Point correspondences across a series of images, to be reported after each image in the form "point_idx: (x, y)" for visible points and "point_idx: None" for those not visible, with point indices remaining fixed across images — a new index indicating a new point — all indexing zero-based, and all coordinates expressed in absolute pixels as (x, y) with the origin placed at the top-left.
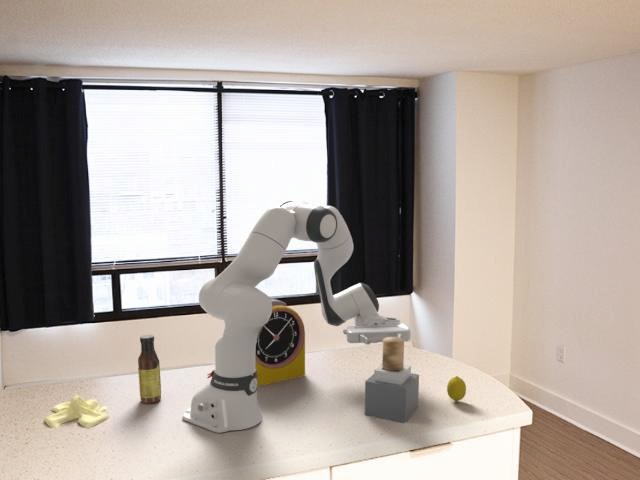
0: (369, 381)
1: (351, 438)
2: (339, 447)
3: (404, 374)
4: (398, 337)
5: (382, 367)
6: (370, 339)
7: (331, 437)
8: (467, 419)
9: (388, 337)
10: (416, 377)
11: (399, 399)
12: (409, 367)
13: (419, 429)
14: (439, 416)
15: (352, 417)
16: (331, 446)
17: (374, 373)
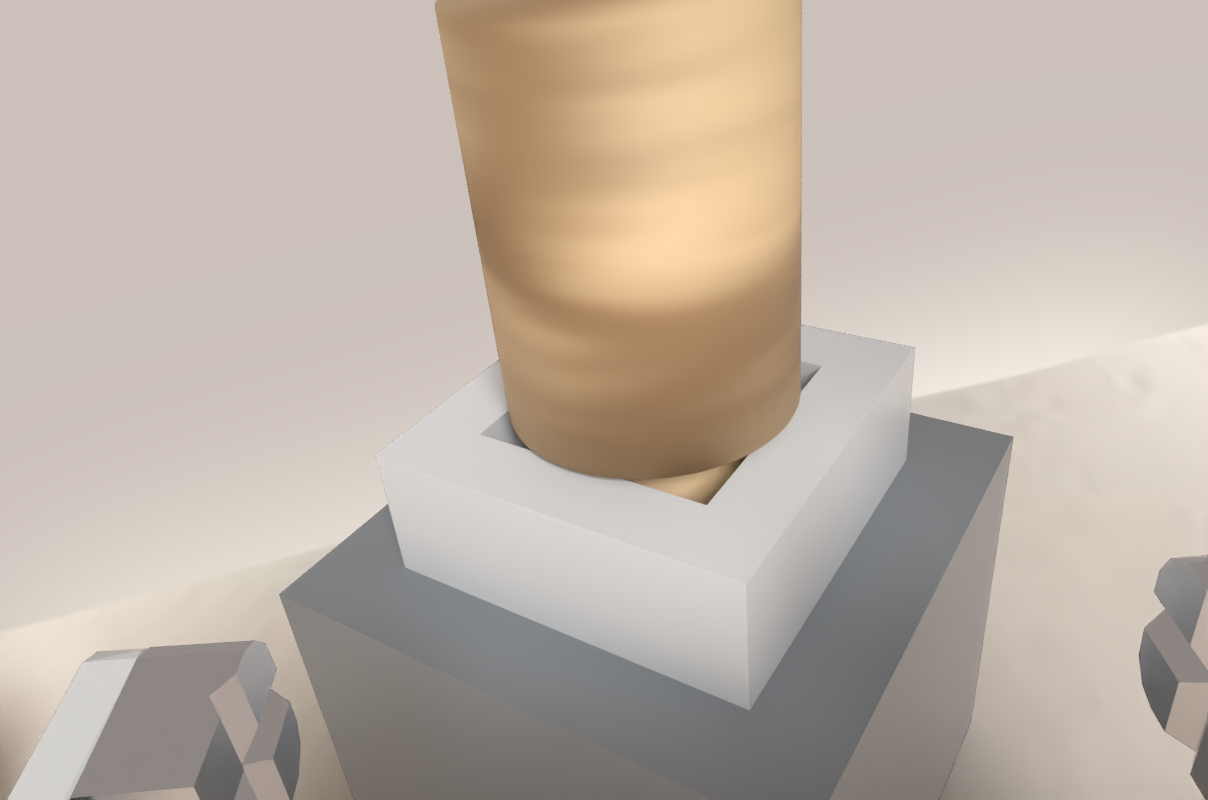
0: (960, 437)
1: (1021, 431)
2: (1075, 364)
3: None
4: (137, 683)
5: (797, 407)
6: (1174, 558)
7: (1166, 437)
8: (108, 635)
9: (678, 9)
10: (359, 529)
11: None
12: (420, 425)
13: None
14: (288, 683)
15: (1088, 682)
16: (1128, 369)
17: (907, 385)
